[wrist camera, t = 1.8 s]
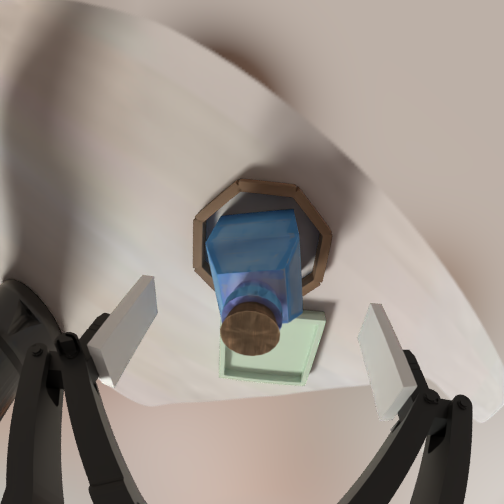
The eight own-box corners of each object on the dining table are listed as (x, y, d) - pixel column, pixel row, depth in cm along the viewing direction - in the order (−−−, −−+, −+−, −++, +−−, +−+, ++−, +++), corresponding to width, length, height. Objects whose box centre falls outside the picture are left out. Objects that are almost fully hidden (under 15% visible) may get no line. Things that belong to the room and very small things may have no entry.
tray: (220, 368, 32) (218, 377, 31) (223, 301, 28) (220, 309, 27) (304, 376, 32) (304, 386, 31) (323, 311, 28) (326, 320, 26)
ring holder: (196, 292, 28) (193, 300, 27) (199, 175, 23) (194, 177, 22) (312, 306, 27) (314, 314, 26) (336, 190, 23) (340, 194, 21)
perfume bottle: (221, 215, 24) (179, 288, 14) (293, 208, 24) (308, 279, 13) (232, 278, 27) (205, 373, 16) (297, 273, 26) (309, 370, 15)
